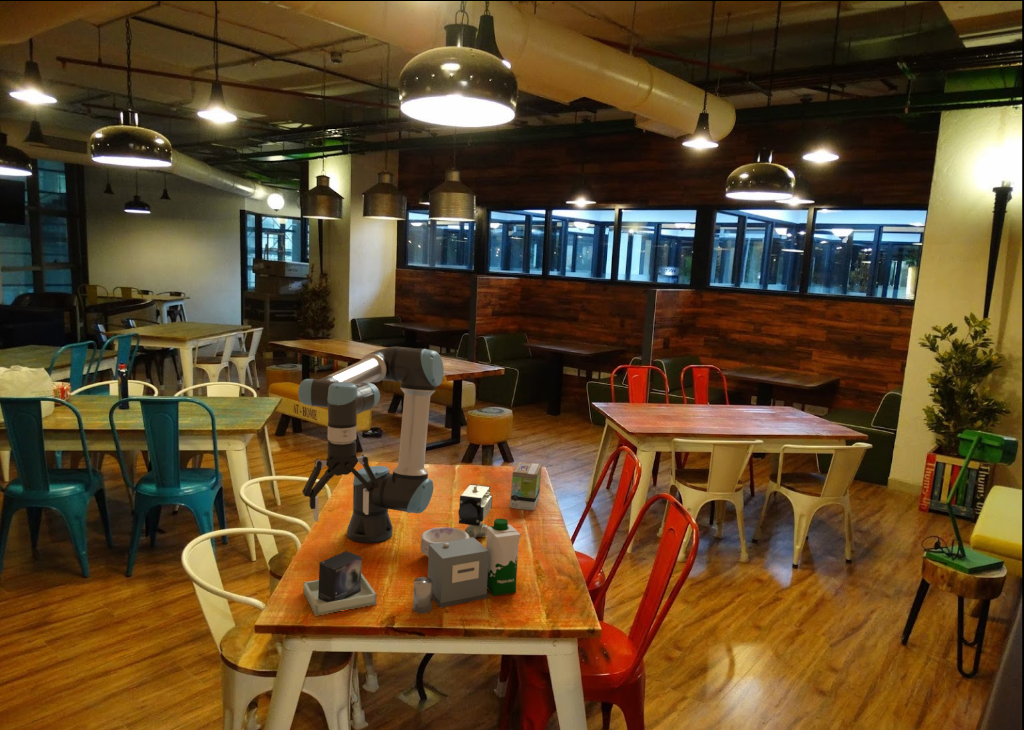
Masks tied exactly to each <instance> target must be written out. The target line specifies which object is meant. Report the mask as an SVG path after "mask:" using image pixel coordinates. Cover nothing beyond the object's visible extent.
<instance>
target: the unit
mask: <svg viewBox="0 0 1024 730" xmlns="http://www.w3.org/2000/svg"><path fill="white" fill-rule="evenodd" d="M488 557H489V550H487V549H486V547H485V546H484V545H483V544H482V543H481V542H479V540H477V539H476V538H474V537H473V538H467V539H461V540H455V541H448V542H442V543H436V544H429V558H428V557H427V559H428V565H427V577H428V578H431V579H432V580H433V585H432V601H433V602H434V603H435V604H436V606H437V607H438V608H439V609H441V608H446V607H447V608H448V607H452V606H457V605H462V604H464V603H465V604H466V603H471V602H475V601H479V600H484V599H489V598H490V594H489V593H488V591H487V590H488V588H487V577H488Z"/></svg>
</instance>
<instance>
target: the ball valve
mask: <svg viewBox="0 0 1024 730" xmlns="http://www.w3.org/2000/svg"><path fill="white" fill-rule="evenodd" d="M492 508H493V494H491V486H490V485H482V484H474V483H473V484H472V483H470V484H469V485H468V486H467V487H466V489H465V490H464V492H462V493H461V495H459V508H458V511H457V513H458V524H462V525H467V526H466V528H465V529H464V531H465V532H466V533H468V535H469V537H470V538H473V537H474V538H475V539H476V538H483V537H484V538H487V527H489V526H488V524H484V523H483V522H484V520H485V518H486V517H487V515H488V514H489V513H490V512H491V510H492Z"/></svg>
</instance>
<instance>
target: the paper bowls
mask: <svg viewBox="0 0 1024 730" xmlns="http://www.w3.org/2000/svg"><path fill="white" fill-rule="evenodd" d="M420 536H421V537H420V540H421V541H420V551H421V554H423V555H425V556H426V557H427V559H428V558H429V544H436V543H442V542H448V541H455V540H461V539H467V538H470V537H469V535H468V533H466V532H465V530H464V529H460V528H455V527H433V528H430V529H428V530H425V531H424V532H422V533H421V535H420Z"/></svg>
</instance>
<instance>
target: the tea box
mask: <svg viewBox="0 0 1024 730" xmlns="http://www.w3.org/2000/svg"><path fill="white" fill-rule="evenodd" d="M542 466H543V465H542V464H541V463H532V462H523V461H517V464H516V466H515V467H514V469H513V471H512V476H511V478H512V479H511V491H510V500H509V501H510V503H509V508H511V509H517V510H525V511H535V510H536V507H537V504H538V502H539V500H540V493H541V492H540V491H541V479H542Z"/></svg>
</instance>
